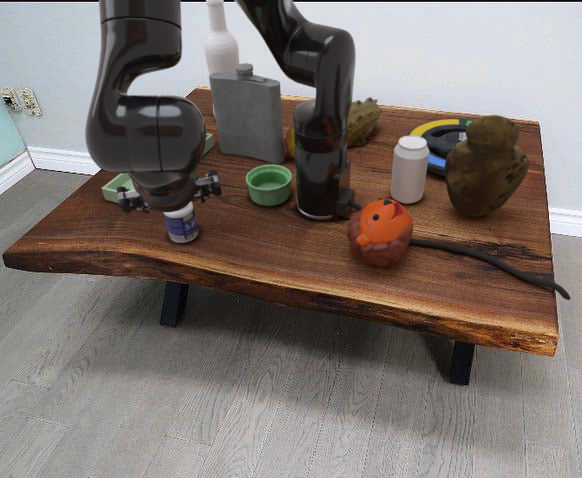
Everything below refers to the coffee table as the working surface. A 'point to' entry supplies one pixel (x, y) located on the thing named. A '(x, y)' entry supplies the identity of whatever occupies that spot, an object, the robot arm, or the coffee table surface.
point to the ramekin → (269, 184)
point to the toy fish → (380, 232)
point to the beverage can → (409, 169)
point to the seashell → (362, 121)
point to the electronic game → (441, 139)
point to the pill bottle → (182, 224)
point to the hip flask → (248, 114)
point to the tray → (126, 181)
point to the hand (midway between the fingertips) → (174, 201)
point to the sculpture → (485, 166)
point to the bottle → (220, 42)
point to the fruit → (290, 142)
